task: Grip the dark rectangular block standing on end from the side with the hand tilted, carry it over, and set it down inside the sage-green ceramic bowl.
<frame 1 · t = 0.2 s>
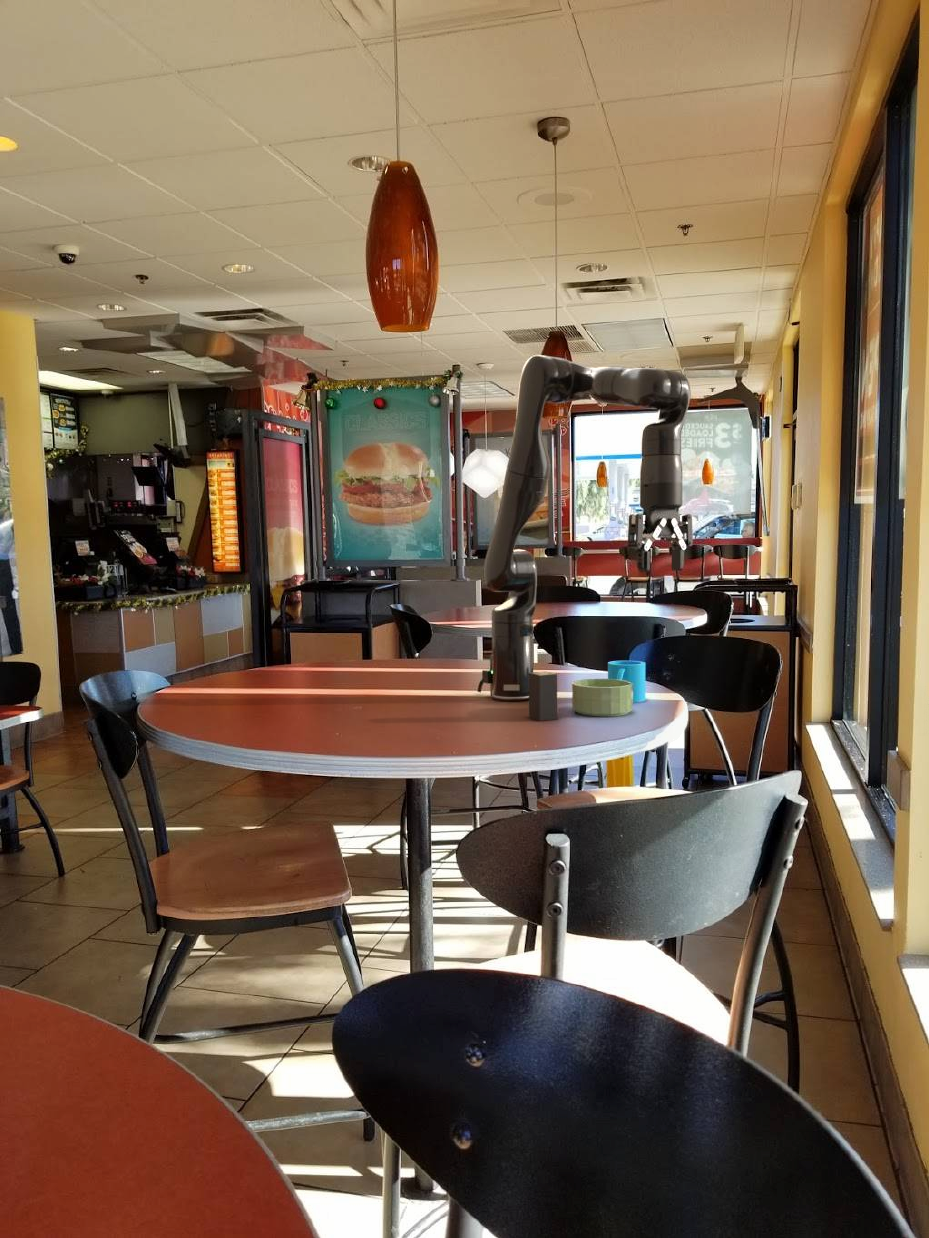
hand: (660, 571, 169), 29 cm above the table, tool pointing down, fingers open, 8 cm apart
mug: (624, 701, 203), on the table
dark rectangular block: (543, 718, 184), on the table
bowl: (602, 711, 190), on the table
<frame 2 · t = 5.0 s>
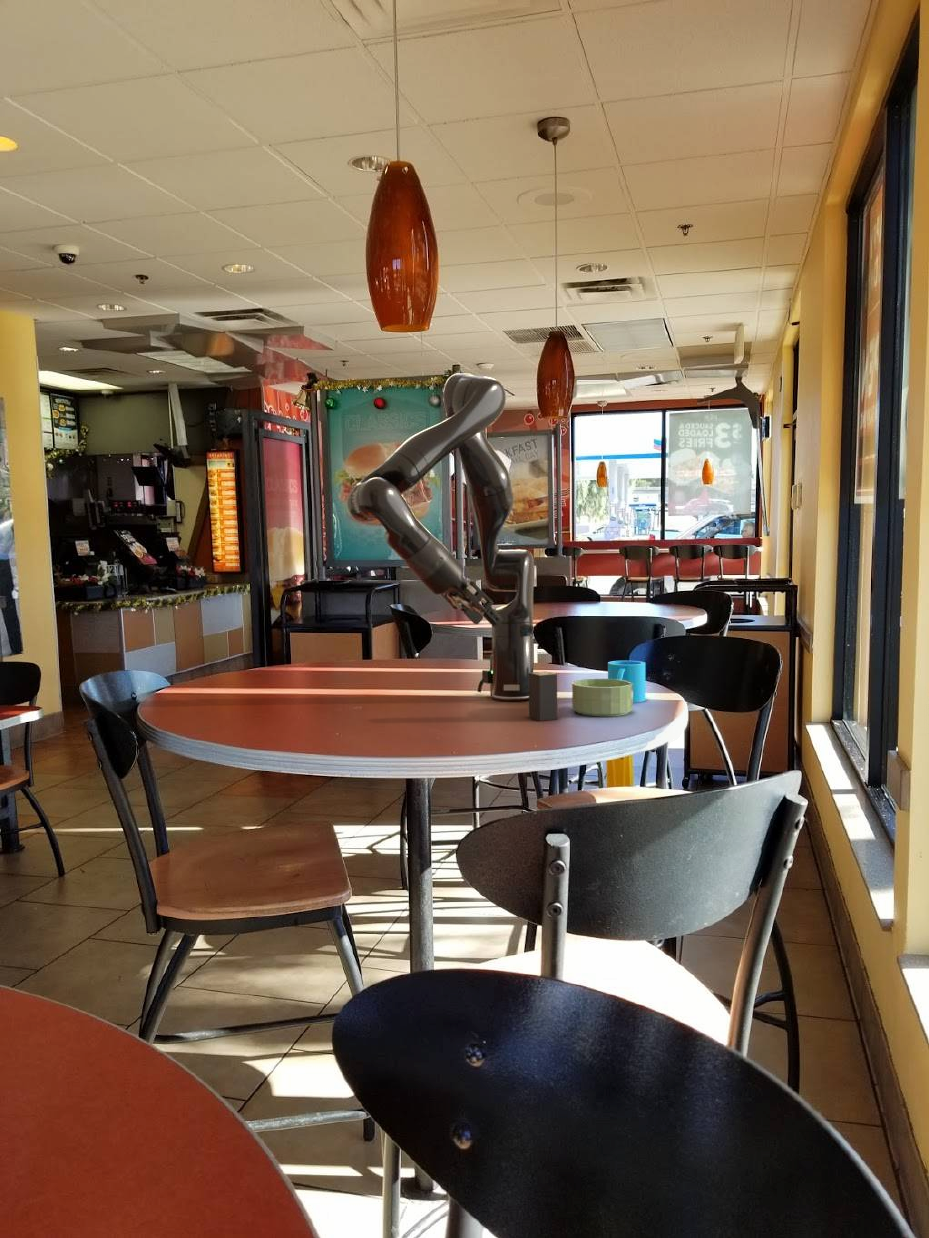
hand: (489, 622, 177), 20 cm above the table, tool tilted 45°, fingers open, 8 cm apart
nothing on the table moved.
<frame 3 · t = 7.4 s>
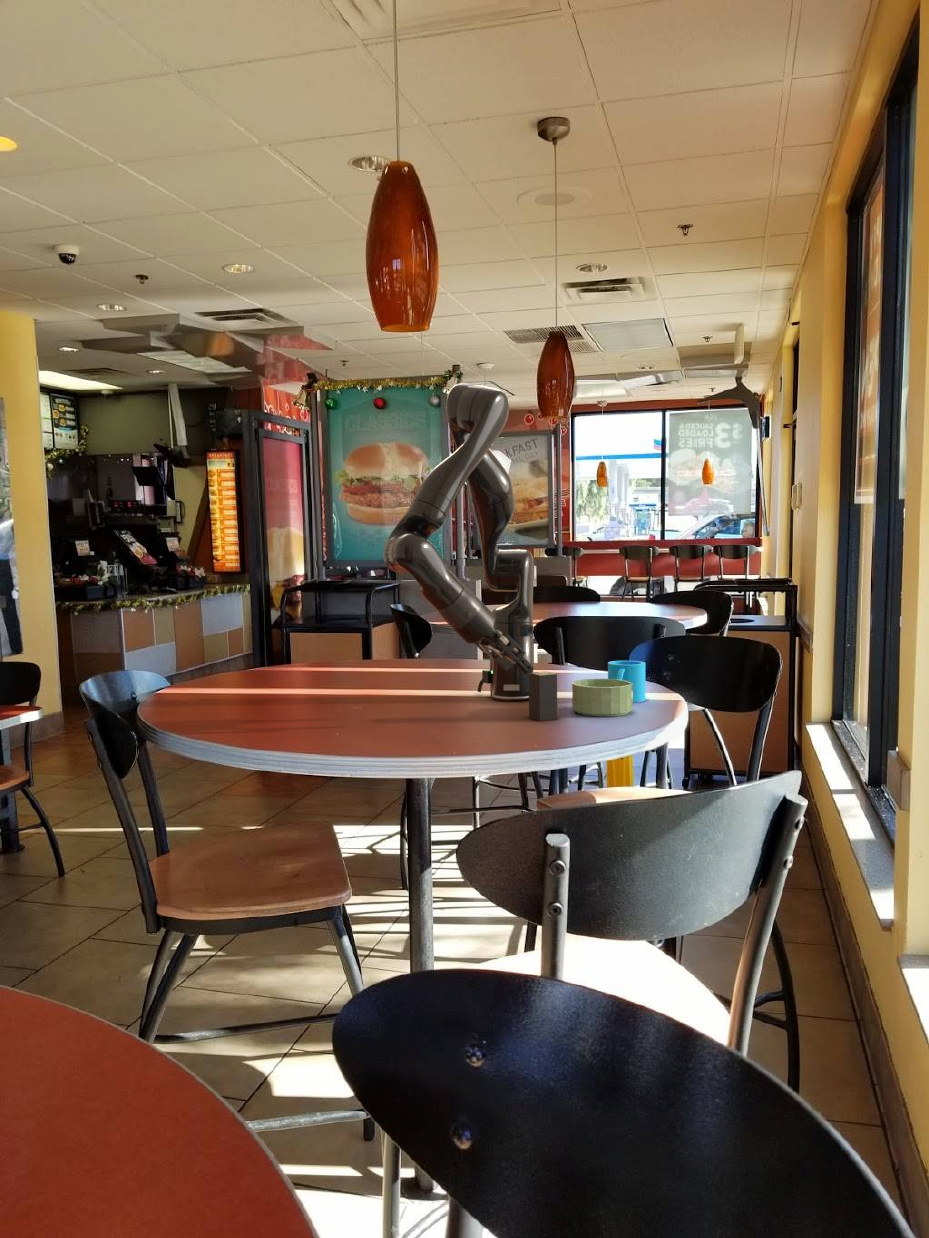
hand: (519, 669, 181), 10 cm above the table, tool tilted 45°, fingers open, 8 cm apart
nothing on the table moved.
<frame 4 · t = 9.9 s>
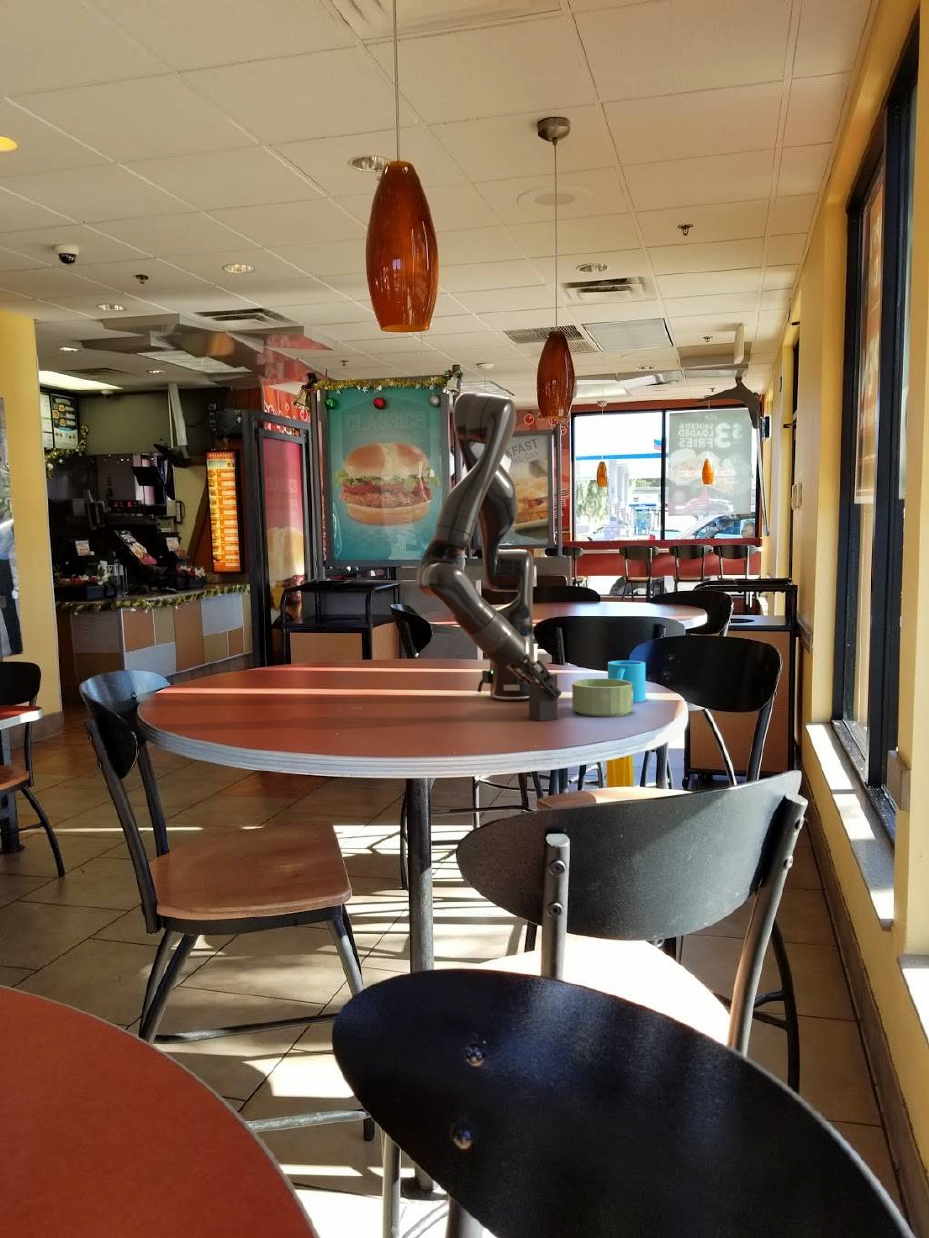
hand: (551, 694, 184), 5 cm above the table, tool tilted 45°, fingers closed on dark rectangular block, 4 cm apart
dark rectangular block: (543, 718, 184), on the table, touching gripper
everything else where it was.
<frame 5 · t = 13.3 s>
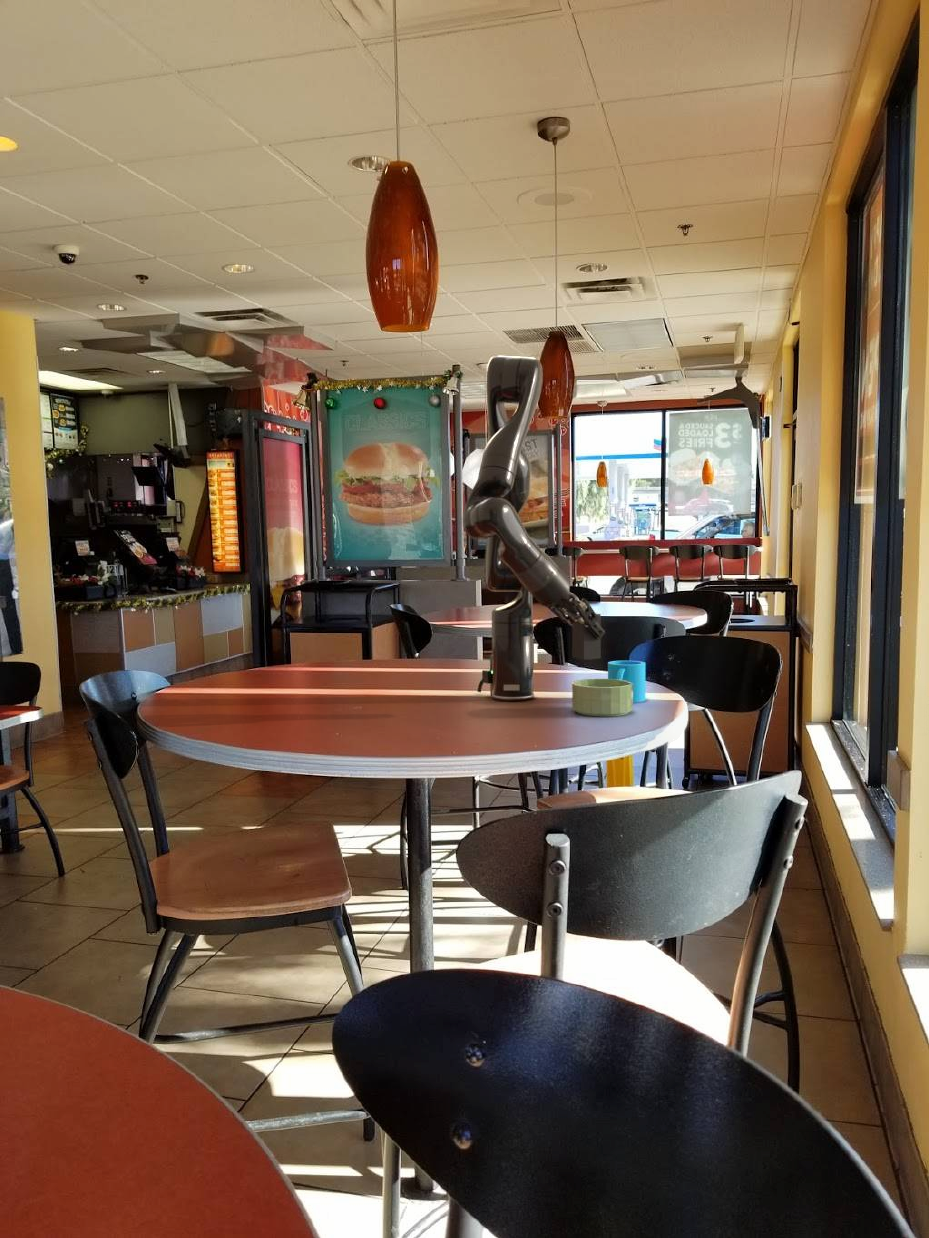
hand: (594, 634, 188), 16 cm above the table, tool tilted 45°, fingers closed on dark rectangular block, 4 cm apart
dark rectangular block: (586, 658, 187), point 11 cm above the table, touching gripper
everything else where it was.
when the fingers open (5 cm above the table, at t = 17.2 s): dark rectangular block stays where it is, resting on bowl.
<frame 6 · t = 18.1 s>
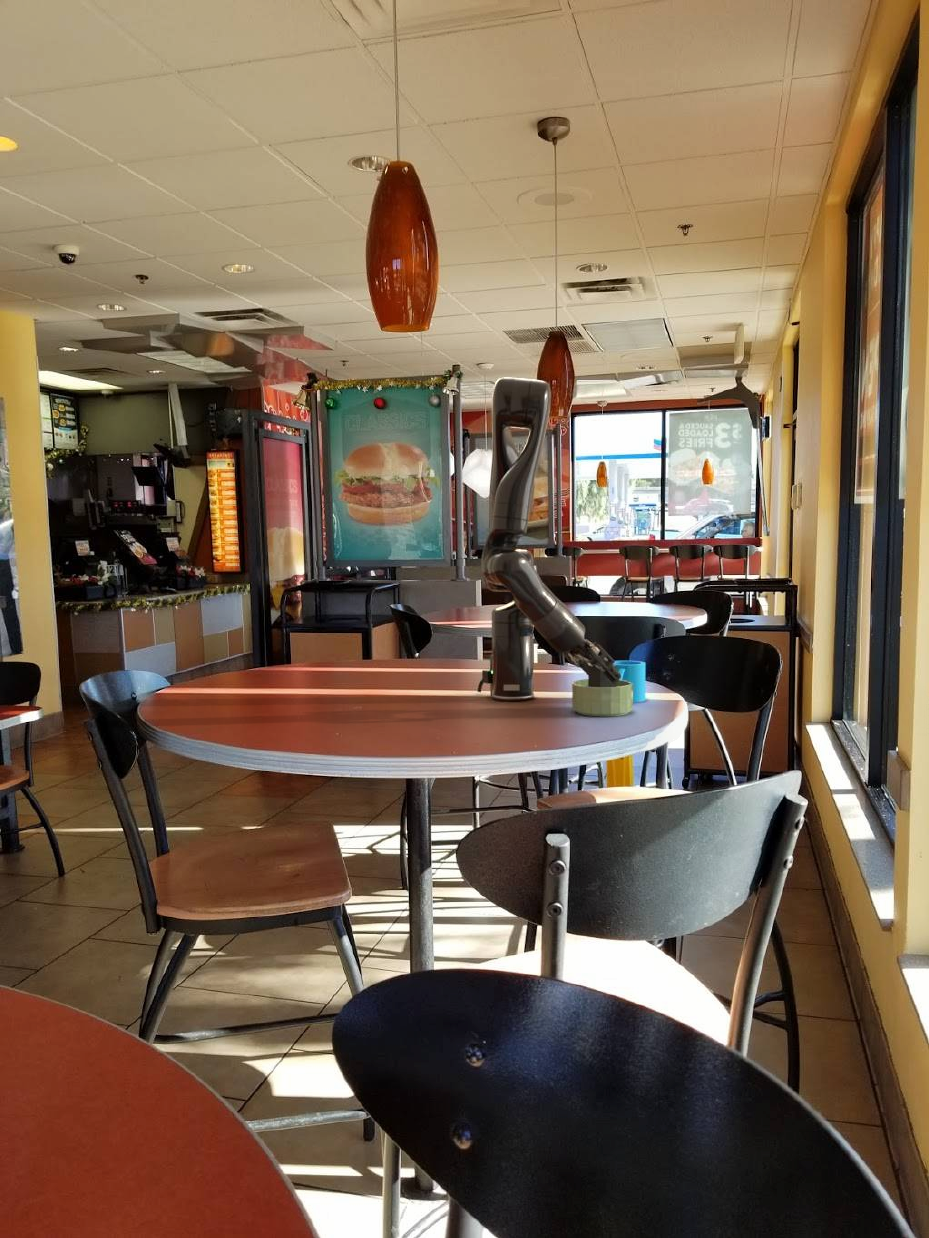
hand: (605, 677, 190), 7 cm above the table, tool tilted 45°, fingers open, 8 cm apart
dark rectangular block: (602, 709, 190), point 1 cm above the table, touching bowl
everything else where it was.
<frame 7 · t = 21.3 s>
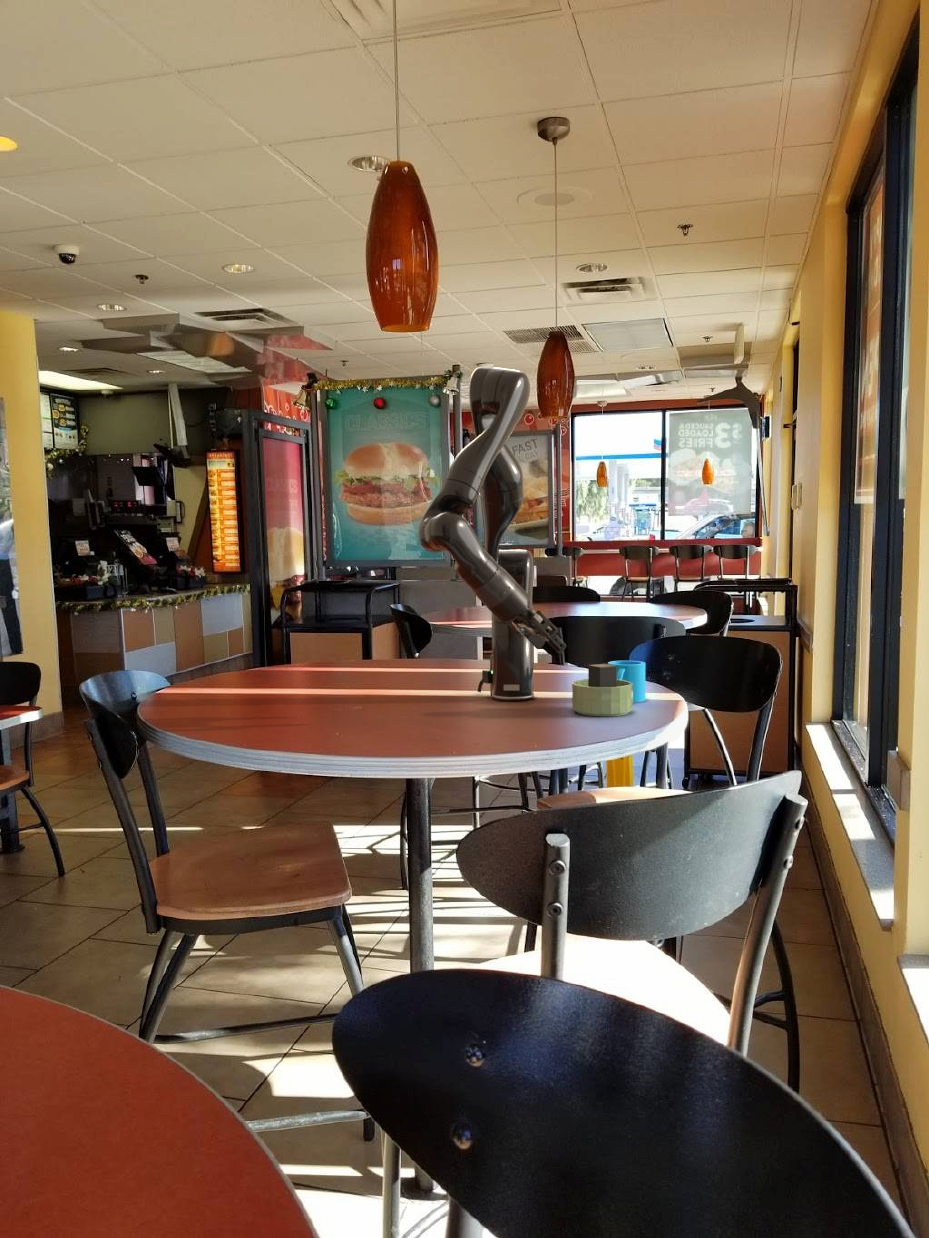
hand: (552, 647, 183), 14 cm above the table, tool tilted 45°, fingers open, 8 cm apart
nothing on the table moved.
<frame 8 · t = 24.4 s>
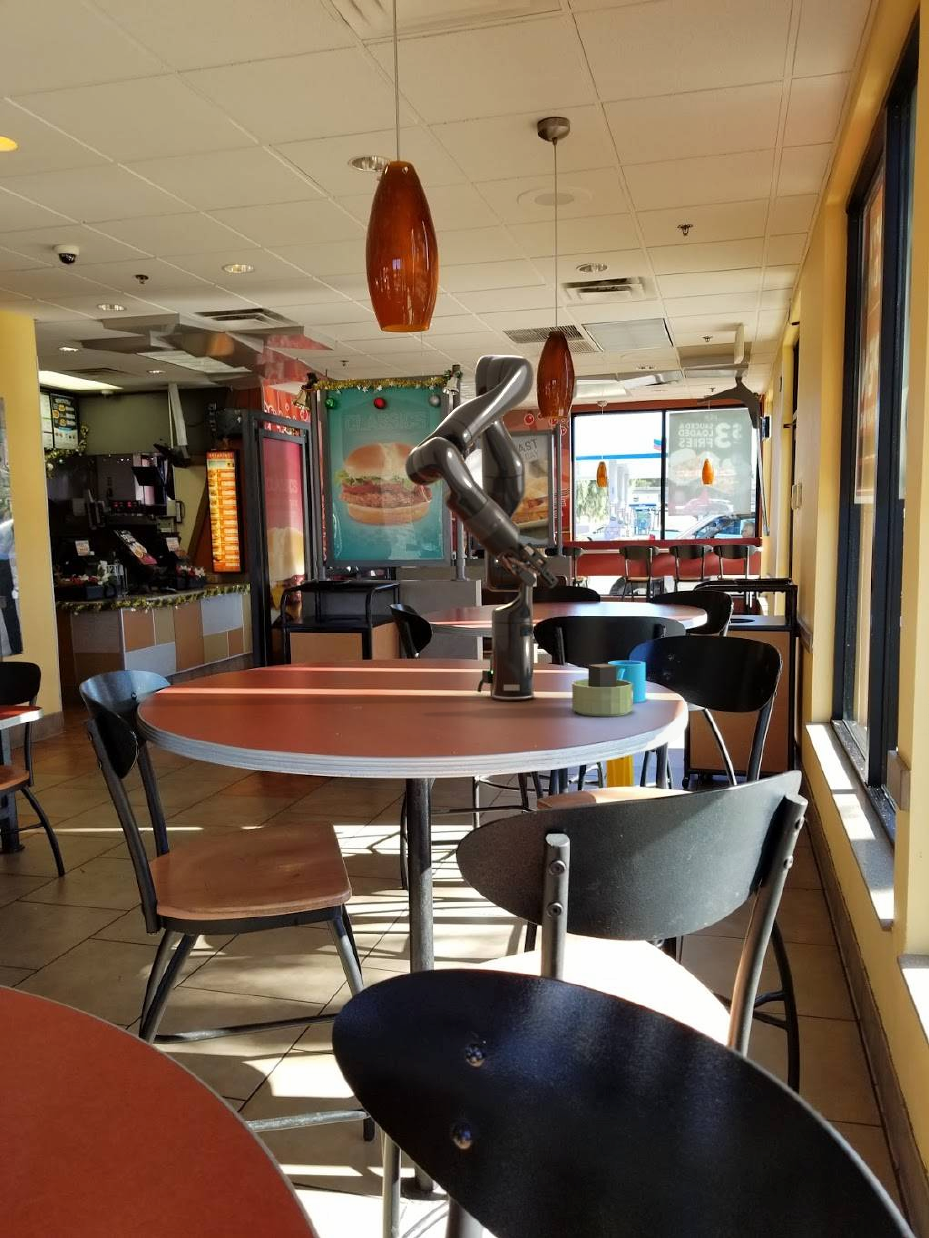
hand: (543, 584, 180), 27 cm above the table, tool tilted 45°, fingers open, 8 cm apart
nothing on the table moved.
at the end: dark rectangular block inside the target area in the bowl (0.2 cm from its centre), point 0.6 cm above the bowl's base; the gripper is holding nothing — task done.
